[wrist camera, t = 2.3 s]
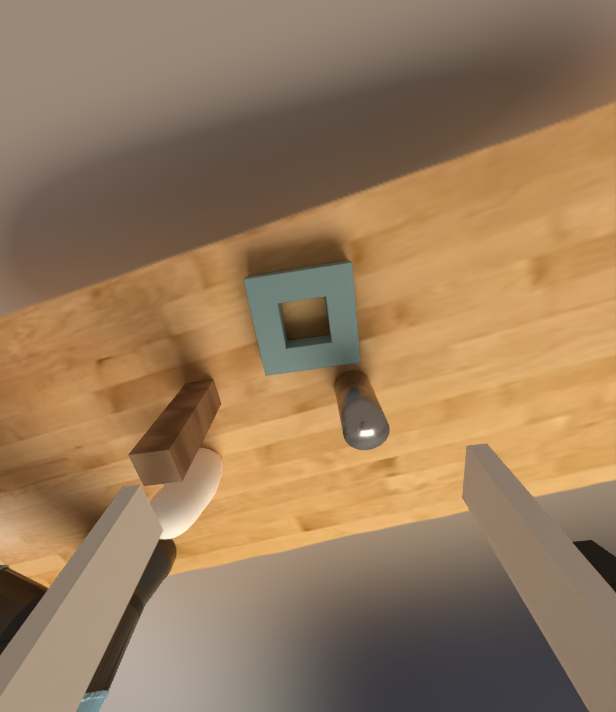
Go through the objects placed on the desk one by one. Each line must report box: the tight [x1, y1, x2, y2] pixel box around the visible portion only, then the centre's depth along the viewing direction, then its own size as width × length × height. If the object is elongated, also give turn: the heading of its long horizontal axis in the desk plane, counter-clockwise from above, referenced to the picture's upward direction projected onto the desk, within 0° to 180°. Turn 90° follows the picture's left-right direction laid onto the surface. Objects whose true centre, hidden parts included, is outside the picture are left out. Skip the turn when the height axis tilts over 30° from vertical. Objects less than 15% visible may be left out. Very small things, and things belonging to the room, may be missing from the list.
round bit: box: [335, 371, 389, 450], centre depth 36 cm, size 5×5×10 cm
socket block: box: [243, 260, 360, 376], centre depth 35 cm, size 12×12×3 cm
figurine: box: [150, 448, 223, 539], centre depth 40 cm, size 7×8×12 cm
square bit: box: [129, 380, 221, 486], centre depth 34 cm, size 4×4×14 cm
